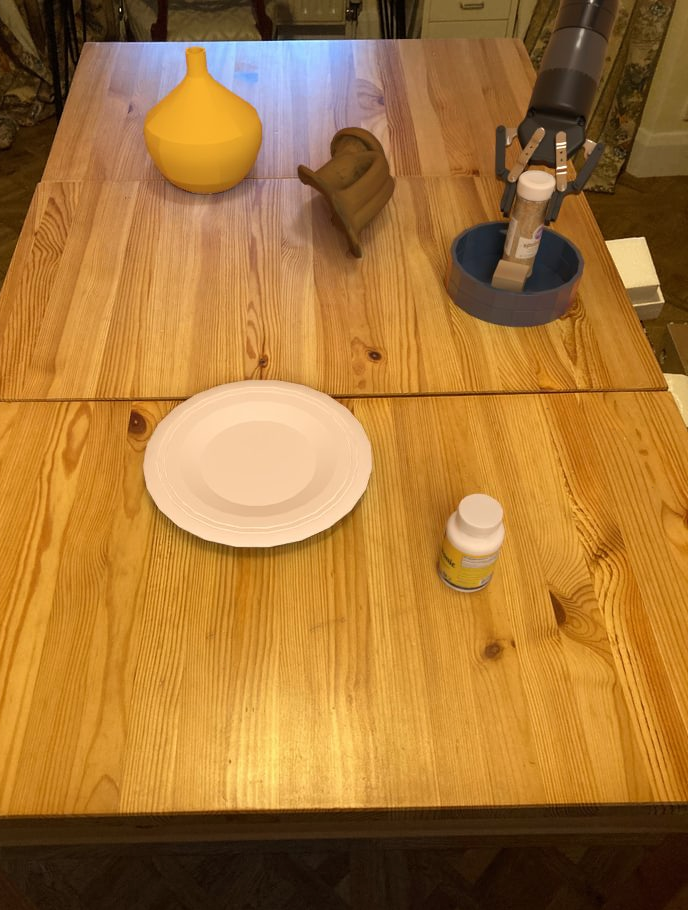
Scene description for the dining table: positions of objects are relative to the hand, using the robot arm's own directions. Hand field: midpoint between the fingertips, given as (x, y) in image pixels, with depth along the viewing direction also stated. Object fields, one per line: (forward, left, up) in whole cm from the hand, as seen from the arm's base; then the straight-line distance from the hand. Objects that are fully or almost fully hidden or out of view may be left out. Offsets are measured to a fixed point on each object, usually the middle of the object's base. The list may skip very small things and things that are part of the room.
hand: (526, 219), depth 97 cm
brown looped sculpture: (+22, -17, -11) cm, 30 cm away
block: (+1, +2, -10) cm, 10 cm away
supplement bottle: (+12, +47, -11) cm, 49 cm away
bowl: (0, 0, -11) cm, 11 cm away
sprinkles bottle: (-1, -2, -9) cm, 10 cm away
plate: (+33, +33, -11) cm, 48 cm away
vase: (+44, -30, -11) cm, 55 cm away
